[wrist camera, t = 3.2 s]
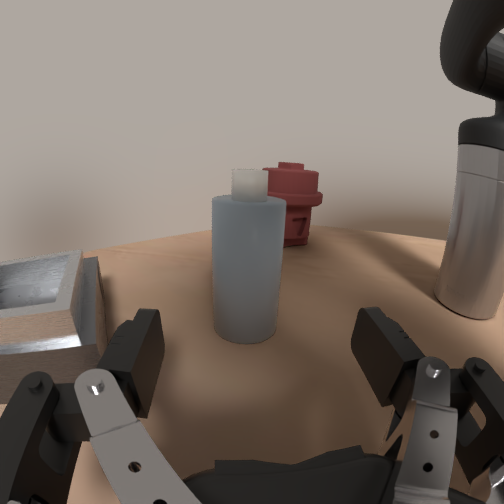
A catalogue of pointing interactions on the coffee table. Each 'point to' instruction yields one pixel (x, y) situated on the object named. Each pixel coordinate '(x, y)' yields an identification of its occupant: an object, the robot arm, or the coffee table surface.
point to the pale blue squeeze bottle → (247, 258)
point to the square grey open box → (50, 318)
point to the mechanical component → (295, 198)
